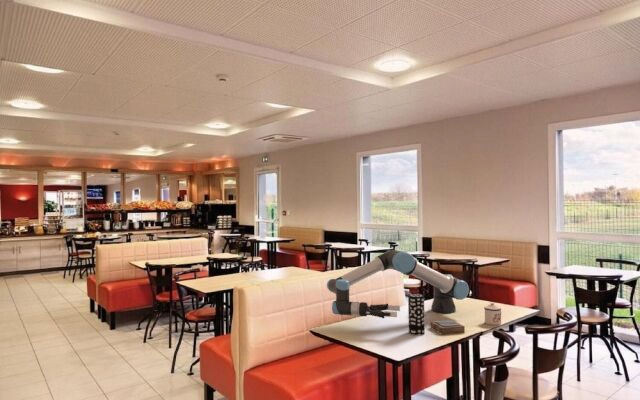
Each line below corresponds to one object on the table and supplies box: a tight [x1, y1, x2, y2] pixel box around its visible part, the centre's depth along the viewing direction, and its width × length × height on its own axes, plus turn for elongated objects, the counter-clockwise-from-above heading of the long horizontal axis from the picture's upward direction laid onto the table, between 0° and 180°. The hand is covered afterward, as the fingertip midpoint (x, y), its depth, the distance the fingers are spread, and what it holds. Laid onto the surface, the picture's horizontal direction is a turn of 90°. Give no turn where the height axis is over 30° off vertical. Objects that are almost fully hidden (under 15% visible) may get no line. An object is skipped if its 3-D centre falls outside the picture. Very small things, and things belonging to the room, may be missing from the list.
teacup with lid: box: [483, 302, 502, 326], centre depth 244 cm, size 12×9×12 cm
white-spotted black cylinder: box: [407, 293, 426, 336], centre depth 227 cm, size 8×8×20 cm
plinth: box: [430, 319, 466, 336], centre depth 231 cm, size 13×13×4 cm
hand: (398, 311), depth 230 cm, fingers open, 13 cm apart
